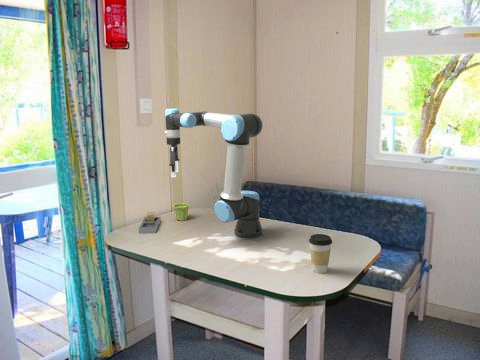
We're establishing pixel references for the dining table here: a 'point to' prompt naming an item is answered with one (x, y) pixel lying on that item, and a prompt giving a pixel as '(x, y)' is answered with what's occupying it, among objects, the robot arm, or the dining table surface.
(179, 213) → the plant pot
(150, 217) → the yellow rectangular block
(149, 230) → the grey double window frame
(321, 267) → the coffee cup
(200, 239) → the dining table surface
